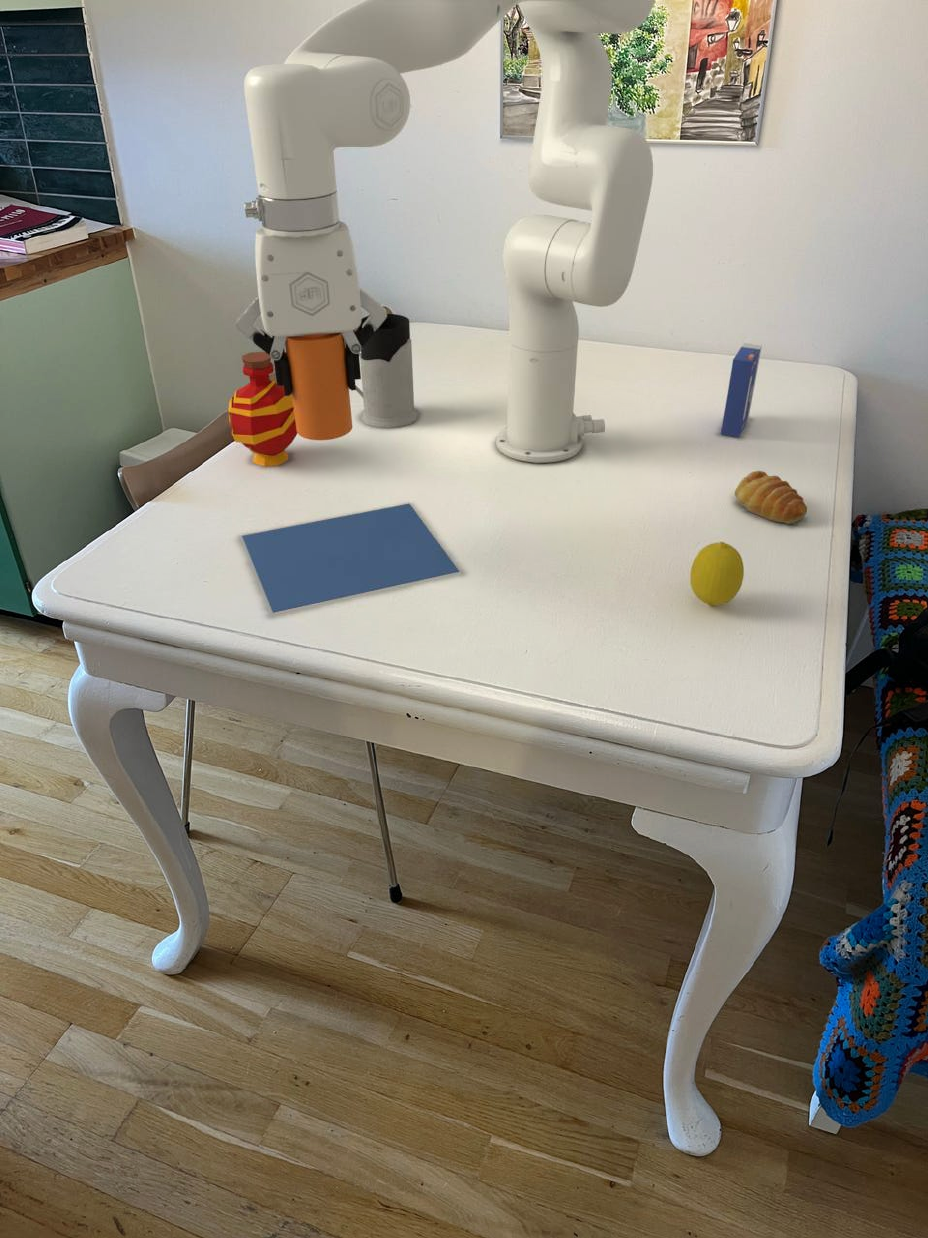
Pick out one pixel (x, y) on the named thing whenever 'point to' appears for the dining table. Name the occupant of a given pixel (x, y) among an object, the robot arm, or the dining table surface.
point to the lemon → (717, 573)
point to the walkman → (740, 389)
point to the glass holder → (388, 375)
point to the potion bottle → (262, 413)
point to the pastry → (770, 498)
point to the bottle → (319, 385)
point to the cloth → (345, 556)
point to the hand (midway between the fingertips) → (319, 387)
